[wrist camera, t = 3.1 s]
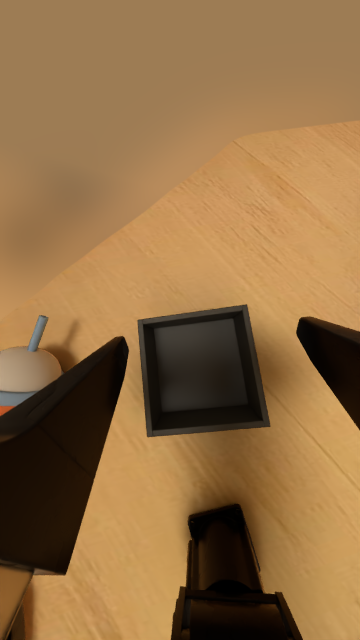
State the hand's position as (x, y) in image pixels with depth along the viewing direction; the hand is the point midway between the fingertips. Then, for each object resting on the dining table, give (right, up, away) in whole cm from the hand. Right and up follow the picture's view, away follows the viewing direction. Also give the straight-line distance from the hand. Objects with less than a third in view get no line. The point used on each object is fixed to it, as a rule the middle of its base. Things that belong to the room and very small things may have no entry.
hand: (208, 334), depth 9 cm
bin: (+1, -5, +15) cm, 16 cm away
